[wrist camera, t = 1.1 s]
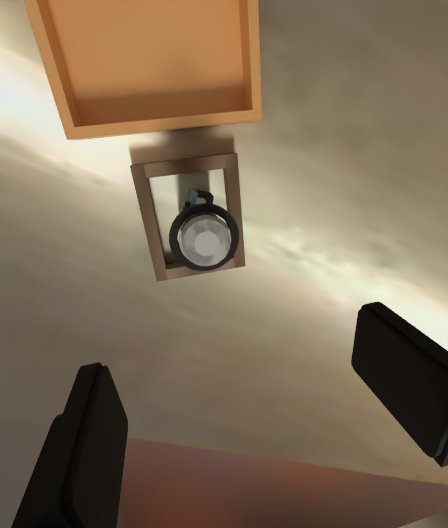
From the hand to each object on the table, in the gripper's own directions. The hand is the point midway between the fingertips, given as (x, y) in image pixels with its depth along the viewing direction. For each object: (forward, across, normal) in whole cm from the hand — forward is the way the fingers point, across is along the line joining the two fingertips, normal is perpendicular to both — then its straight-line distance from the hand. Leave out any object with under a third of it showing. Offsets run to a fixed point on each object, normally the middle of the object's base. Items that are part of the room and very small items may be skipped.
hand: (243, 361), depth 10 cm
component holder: (+21, 0, 0) cm, 21 cm away
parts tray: (+21, +1, -15) cm, 26 cm away
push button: (+21, 0, 0) cm, 21 cm away
